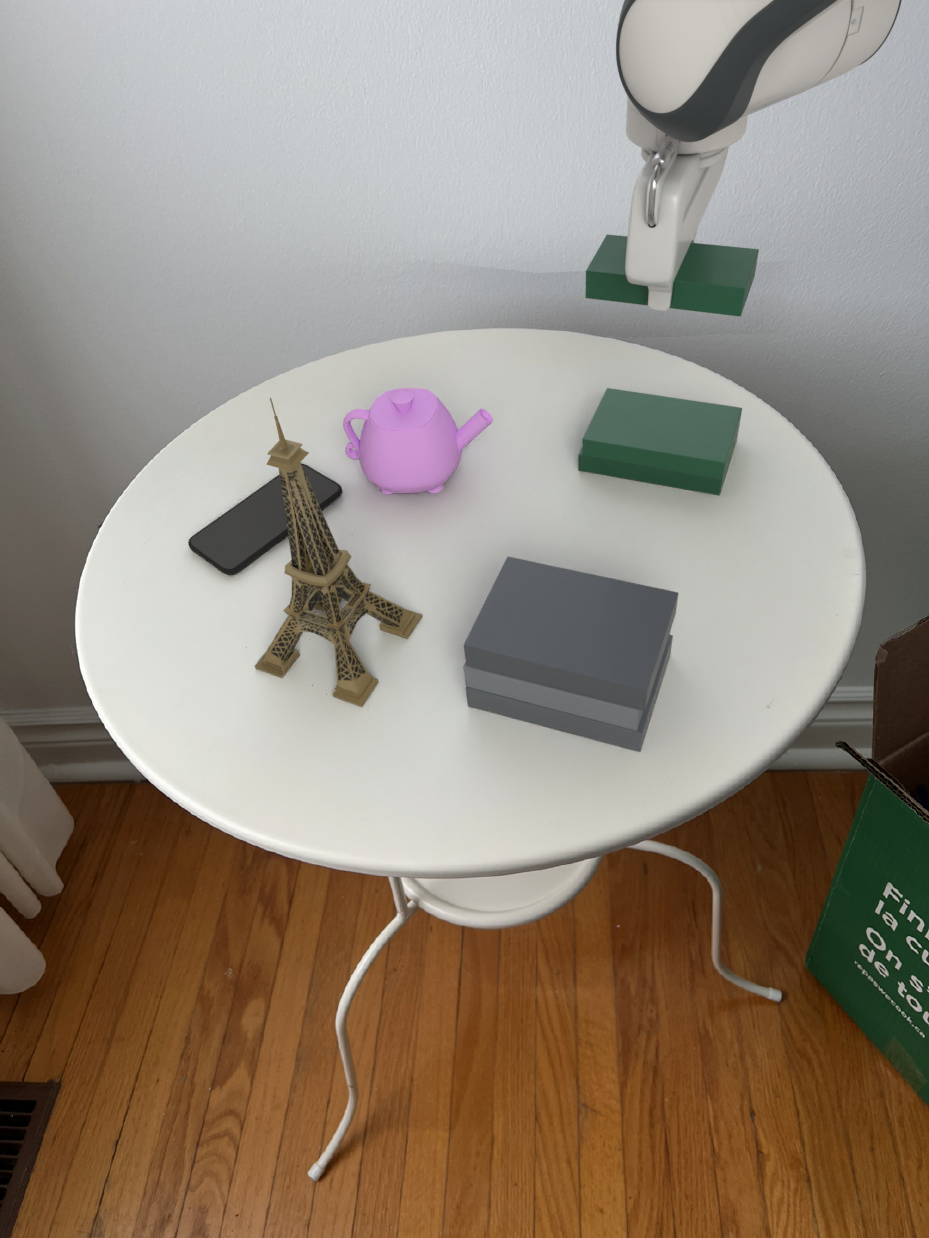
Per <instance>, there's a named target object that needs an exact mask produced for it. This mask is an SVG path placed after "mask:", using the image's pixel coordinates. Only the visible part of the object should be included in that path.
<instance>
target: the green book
mask: <svg viewBox="0 0 929 1238" xmlns="http://www.w3.org/2000/svg"><path fill="white" fill-rule="evenodd" d="M627 238H628V235H627V236H626V235H618V234H617V235H616V234H606V235H605V237H604V238H603V240H602V242H601V243H600V245H599V247H598V249H597V251H596V252H595V254H594V256H593V257H592V259H591V261H590V263H589V265H588V267H586V270H585V295H584V296H585V299H590V300H597V301H608V302H615V303H623V304H630V305H631V304H632V305H641V306H647V307H648V294H649V290H648V286H644V285H637V284H632V283H630V282H628V280H627V277H626V273H625V261H626V249H627ZM759 252H760V249H759V248H752V247H751V248H749V247H740V246H730V245H719V244H708V243H699V242H695V243H691V244H690V246H689V248H688V250H687V253H686V255H685V257H684V259H683V261H682V264H681V266H680V268H679V270H678V273H677V275H676V277H675V279H674V282H673V283H675V284H674V294H673V301H672V303H671V305H670V307H669V309H674V310H682V311H689V312H700V313H706V314H715V315H723V316H732V317H740V318H741V317H742V315H743V311H744V308H745V305H746V302H747V299H748V297H749V294H750V292H751V288H752V286H753V282H754V280H755V276H756V271H757V270H756V269H757V264H758V258H759Z"/></svg>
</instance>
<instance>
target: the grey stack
mask: <svg viewBox="0 0 929 1238" xmlns="http://www.w3.org/2000/svg"><path fill="white" fill-rule="evenodd" d="M678 600H679V592H678V591H674V590H669V589H664V588H659V587H654V586H650V585H645V584H639V583H635V582H630V581H627V580H626V581H625V580H621V579H616V578H611V577H607V576H602V575H597V574H593V573H588V572H584V571H579V570H575V569H574V570H573V569H569V568H565V567H560V566H555V565H550V564H545V563H541V562H536V561H531V560H527V559H522V558H517V557H512V556H507V557H506V559H505V561H504V563H503V565H502V567H501V569H500V571H499V573H498V575H497V577H496V579H495V581H494V583H493V585H492V586H491V589H490V590H489V593H488V594H487V597H486V599H485V600H484V603H483V606H482V607H481V609H480V611H479V613H478V615H477V617H476V619H475V621H474V623H473V625H472V627H471V629H470V632H469V633H468V635H467V637H466V639H465V641H464V643H463V651H464V652H463V653H464V659H465V660H464V661H465V662H464V664H463V667H462V668H463V674H464V681H465V693H466V700H467V701H466V702H467V706H468V707H469V708H473V709H477V710H481V711H485V712H488V713H492V714H495V715H500V716H503V717H507V718H510V719H515V720H518V721H521V722H525V723H529V724H533V725H537V726H540V727H543V728H544V727H545V728H548V729H552V730H554V731H560V732H564V733H566V734H571V735H574V736H578V737H582V738H584V739H585V738H586V739H589V740H593V741H597V742H601V743H605V744H608V745H612V746H616V747H619V748H623V749H627V750H630V751H633V752H638V753H640V752H642V748H643V745H644V741H645V739H646V735H647V733H648V729H649V725H650V722H651V719H652V716H653V712H654V710H655V706H656V703H657V700H658V696H659V693H660V690H661V687H662V683H663V680H664V677H665V674H666V671H667V667H668V665H669V661H670V657H671V654H672V647H673V637H674V636H673V634H670V633H671V630H672V627H673V624H674V621H675V618H676V614H677V607H678Z"/></svg>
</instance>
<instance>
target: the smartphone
mask: <svg viewBox="0 0 929 1238" xmlns="http://www.w3.org/2000/svg"><path fill="white" fill-rule="evenodd" d="M301 464H302V467H303V469H304V471H305V474H306V476H307V478H308V481H309V483H310V485H311V488H312V490H313V492H314V495H315V497H316V499H317V502H318V504H319V506H320V509H321V511H322V512H323V510H324V509H326V508H327V507H328V506H330V505H331V504H333V503H334V502H335V501H336V500H338V499H339V498H341V496H342V494H343V488H342V486H341V485H340V483H338V482H336V481H335V480H333V479H331V478H330V477H328V476H326V475H324V474H323V473H321V472H319V471H318V470H316V469H314V468H313V467H311V466H310V465H308V464H305V463H302V462H301ZM287 537H289V536H288V529H287V521H286V513H285V507H284V500H283V494H282V487H281V481H280V474H279V473H278V475H276V476H275V477H273V478H272V479H271V480H269V481H268V482H267V483H265V484H264V485H262V486H261V487H259V488H258V489H257V490H255V491H254V492H252V493H251V494H250V495H248V496H247V497H245V498H244V499H242V500H241V501H239V502H238V503H237V504H236V505H234V506H233V507H231V508H230V509H229V510H227V511H226V512H224V513H223V514H221V515H220V516H218V517H217V518H216V519H214V520H213V521H211V522H209V524H207V525H206V526H204V527H203V528H202V529H200V530H199V531H197V532H196V533H195V534H193V535H192V536H191V537H190V538H189V539H188V541H187V542H188V547H189V549H190V550H191V551H192V552H194V553H195V554H196V555H198V556H199V557H200V558H202V559H203V560H204V561H205V562H207V563H208V564H210V565H211V566H213V567H214V568H215V569H217V570H218V571H219V572H221V574H224V575H226V576H235V575H237V574H239V573H240V572H241V571H243V570H244V569H245V568H247V567H248V566H249V565H251V564H252V563H254V562H255V561H256V560H258V559H259V558H260V557H262V556H263V555H265V553H267V552H268V551H270V550H271V549H272V548H274V547H275V546H276V545H277V544H279V543H280V542H281V541H283V540H284V539H286V538H287Z"/></svg>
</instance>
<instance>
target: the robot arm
mask: <svg viewBox="0 0 929 1238" xmlns="http://www.w3.org/2000/svg"><path fill="white" fill-rule="evenodd" d="M902 1H903V0H624V1H623V4H622V7H621V10H620V15H619V19H618V22H617V23H618V24H617V28H616V29H617V32H616V38H615V60H616V67H617V72H618V76H619V79H620V82H621V85H622V88H623V89H624V92H625V94H626V96H627V98H626V115H625V118H626V119H625V134H626V137H627V138H628V140H629V141H630V142H631V143H632V144H634V145H636V146H637V147H640V148H641V149H640V156H641V158H642V160H643V161H644V162H645V163H644V165H643V167H642V169H641V170H640V171H639V173H638V175H637V177H636V180H635V183H634V187H633V189H632V190H633V191H632V196H631V202H630V209H629V218H628V228H627V236H628V238H627V249H626V261H625V273H626V277H627V280H628V282H630V283H632V284H637V285H644V286H648V290H649V294H648V306H647V307H648V309H650V310H652V311H657V312H668V311H669V309H670V308H669V307H670V305H671V303H672V301H673V294H674V284H675V283H673V282H674V279H675V277H676V275H677V273H678V270H679V268H680V266H681V264H682V261H683V259H684V257H685V255H686V253H687V250H688V248H689V246H690V244H691V243H696V237H697V233H698V229H699V226H700V224H701V221H702V219H703V217H704V214H705V212H706V210H707V209H708V205H709V203H710V201H711V199H712V197H713V194H714V193H715V190H716V188H717V186H718V184H719V181H720V179H721V177H722V174H723V171H724V168H725V164H726V160H727V157H728V152H729V149H730V146H732V145H735V143H737V142H738V141H740V140H741V139H742V138H743V137H744V135H745V134H746V131H747V124H748V119H749V115H752V114H754V113H756V112H760V111H761V110H763V109H766V108H768V107H771V106H773V105H776V104H778V103H781V102H783V101H785V100H788V99H790V98H793V97H795V96H797V95H800V94H803V93H805V92H807V91H809V90H811V89H813V88H816V87H818V86H820V85H824V84H825V83H827V82H829V81H832V80H834V79H836V78H839V77H840V76H843V75H845V74H847V73H848V72H850V71H852V70H854V69H856V68H858V67H859V66H861V65H863V64H864V63H866V62H867V61H869V60H870V59H871V58H872V57H873V56H874V55H875V54H876V53H877V52H878V51H879V50H880V49H881V48H882V46H883V45H884V43H885V42H886V41H887V39H888V37H889V35H890V33H891V32H892V30H893V28H894V25H895V23H896V21H897V18H898V15H899V12H900V8H901V6H902Z"/></svg>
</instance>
